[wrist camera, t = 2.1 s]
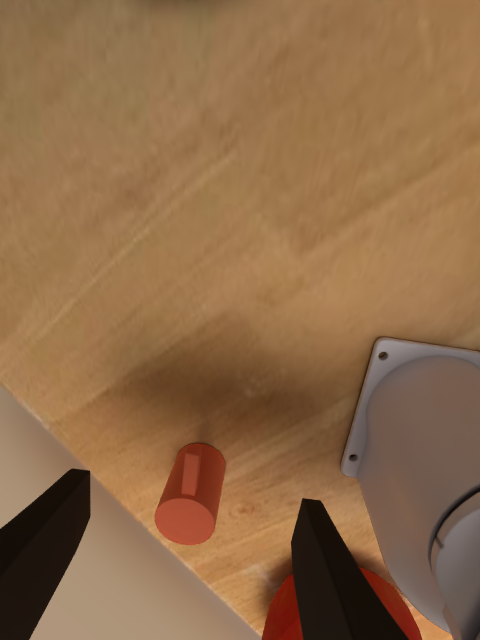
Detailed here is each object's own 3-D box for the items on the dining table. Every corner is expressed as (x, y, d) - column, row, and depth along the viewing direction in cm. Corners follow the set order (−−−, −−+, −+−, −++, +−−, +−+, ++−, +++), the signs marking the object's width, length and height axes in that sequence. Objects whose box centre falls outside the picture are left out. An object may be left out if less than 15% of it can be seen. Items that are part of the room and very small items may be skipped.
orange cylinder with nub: (222, 487, 23) (211, 550, 19) (174, 479, 23) (153, 539, 19) (233, 413, 21) (223, 464, 17) (180, 404, 21) (158, 453, 17)
